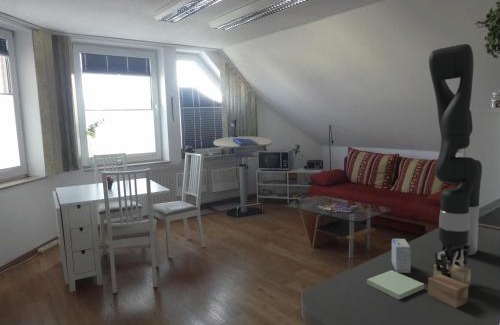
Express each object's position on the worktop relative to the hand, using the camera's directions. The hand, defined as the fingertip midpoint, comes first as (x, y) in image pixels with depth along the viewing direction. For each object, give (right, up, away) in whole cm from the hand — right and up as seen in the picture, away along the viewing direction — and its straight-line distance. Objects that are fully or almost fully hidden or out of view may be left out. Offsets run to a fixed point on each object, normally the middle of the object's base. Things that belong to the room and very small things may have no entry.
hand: (451, 281), depth 104 cm
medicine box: (-10, 0, +11) cm, 15 cm away
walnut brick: (-6, -2, -8) cm, 10 cm away
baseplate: (-17, -1, -1) cm, 17 cm away
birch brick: (0, -1, 0) cm, 1 cm away
